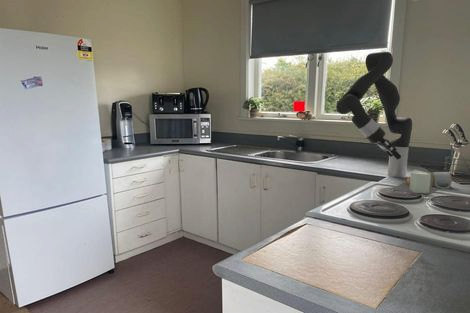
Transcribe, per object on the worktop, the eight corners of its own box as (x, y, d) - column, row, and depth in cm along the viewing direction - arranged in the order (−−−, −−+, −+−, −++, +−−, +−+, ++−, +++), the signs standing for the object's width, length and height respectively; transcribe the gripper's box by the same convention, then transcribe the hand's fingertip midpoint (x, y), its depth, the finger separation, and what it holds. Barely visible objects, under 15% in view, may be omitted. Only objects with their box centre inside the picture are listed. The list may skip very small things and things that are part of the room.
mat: (405, 183, 167) (405, 182, 167) (440, 189, 156) (440, 188, 156) (389, 189, 154) (389, 188, 154) (426, 197, 142) (426, 195, 142)
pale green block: (414, 192, 147) (416, 174, 146) (409, 189, 153) (411, 171, 152) (428, 193, 147) (431, 174, 145) (422, 189, 152) (424, 172, 151)
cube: (409, 186, 159) (410, 178, 158) (406, 184, 162) (407, 176, 162) (418, 187, 158) (419, 178, 158) (414, 185, 162) (415, 177, 161)
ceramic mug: (427, 184, 166) (428, 169, 165) (445, 185, 165) (446, 170, 163) (434, 190, 156) (436, 174, 155) (454, 191, 154) (456, 175, 153)
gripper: (383, 126, 141) (409, 153, 141) (373, 124, 155) (396, 149, 155) (369, 138, 142) (394, 165, 143) (361, 135, 156) (384, 159, 157)
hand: (395, 156), depth 149 cm, fingers open, 8 cm apart
